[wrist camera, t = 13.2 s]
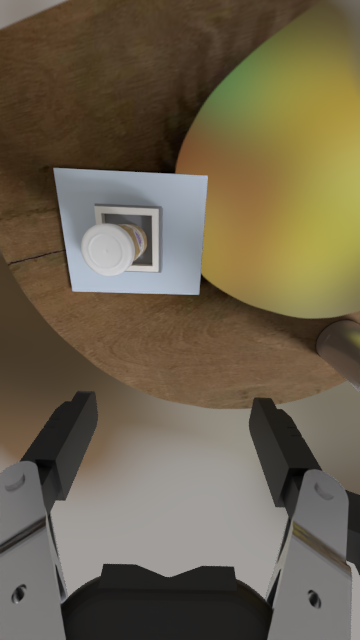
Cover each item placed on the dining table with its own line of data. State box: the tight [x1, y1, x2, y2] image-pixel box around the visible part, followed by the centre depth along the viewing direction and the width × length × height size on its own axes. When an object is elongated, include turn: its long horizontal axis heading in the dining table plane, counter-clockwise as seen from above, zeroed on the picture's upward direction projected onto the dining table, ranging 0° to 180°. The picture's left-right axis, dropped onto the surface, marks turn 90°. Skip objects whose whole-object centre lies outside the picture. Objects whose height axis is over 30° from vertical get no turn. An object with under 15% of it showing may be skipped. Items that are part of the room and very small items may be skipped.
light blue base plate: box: [53, 168, 208, 295], centre depth 34 cm, size 22×18×6 cm
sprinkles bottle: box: [81, 223, 147, 276], centre depth 26 cm, size 5×5×14 cm
